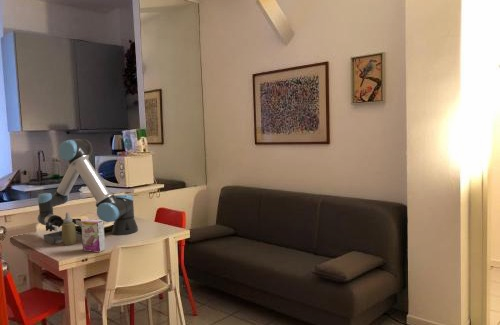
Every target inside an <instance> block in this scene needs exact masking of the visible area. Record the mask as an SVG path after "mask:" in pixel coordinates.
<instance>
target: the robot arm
mask: <svg viewBox="0 0 500 325" xmlns="http://www.w3.org/2000/svg"><path fill="white" fill-rule="evenodd" d="M92 154H93V145H92V143H91V142H90V141H89V140H87V139H84V138H76V139H68V140H63V142H61V143H60V145H59V149H58V155H59V157H60V158H61V160H64V161H65V162H68V164H69V166H68V168H67V169H66V172H65V174H64V176H63V177H62V179H61V181H60V183H59V185H58V187H57V189H56V191H55V193H53V194H52V193H51V192H44V193H40V194H38V197H37V198H38V200H37V202H38V211H39V214H38V215H37V218H36V219H37V222H39V224H41V225H43V226H45V231H47V232H48V231H49V232H53V231H54V232H59V231H60V229H59V228H60V227H62V224H63V223H64V222H63V220H64V219H65V218H62V217H61V216H59V215H56V214H54V208H55V207H57V206H61V205H64V204H66V203H68V202H69V200H70V195H69V194H70V192H71V191H72V188H73V187H74V185H75V183H76V181H77V179H78V178H79V176H80V178H81V179H82V180H83V183H84V185H86V187H87V189H88V191H89V192H90V193H91V195H92V196H93V198H94V200H95V201H96V202H95V206H96V215H97V217H98V218H99V220H103V222H105V223H111V222H114V223H113V227H112V234H113V235H116V236H117V235H121V236H123V235H131V234H134V233H136V232H138V231H139V226H138V225H137V222H136V219H135V209H134V208H135V206H134V198H133V195H132V194H131V195H130V194H115V195H114V194H113V193H110V192H109V190H108V188H107V187H106V185H105V184H104V182H103V181H102V179H101V178H100V176H99V174H98V172H97V171H96V169H95V168H94V166H93V165H92V163H91V161H90V159H91V156H92ZM81 221H82V219H81V218H72V222H74V224H75V226H79V227H81Z"/></svg>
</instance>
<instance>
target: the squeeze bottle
mask: <svg viewBox="0 0 500 325" xmlns="http://www.w3.org/2000/svg"><path fill="white" fill-rule="evenodd" d="M70 216H71V215H70V214H69V212H66V213H65V218H63V219H64V220H63V222H64V223H63V224H62V226H61V231H62V241H63V244H65V245H64V246H72V245H75V244H76V242H77V238H78V235H77V229H76V224H74V222H72V219H73V217H72V218H71V217H70ZM71 244H72V245H71Z"/></svg>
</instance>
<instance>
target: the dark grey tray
mask: <svg viewBox="0 0 500 325" xmlns="http://www.w3.org/2000/svg"><path fill="white" fill-rule="evenodd" d="M43 241H44V242H46V243H48V242H49V244H51V243H52V244H51V245H53V244H55V245H57V244H58V243H59V244H62V242H63V241H62V230H59V232H56V231H54V232H50V233H46V234H43Z"/></svg>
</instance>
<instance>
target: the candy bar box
mask: <svg viewBox="0 0 500 325" xmlns="http://www.w3.org/2000/svg"><path fill="white" fill-rule="evenodd" d="M80 227H81V228H80V229H81V238H82V239H81V240H82V241H81V242H82V251H83V250H91V251H102V250H104V251H105V249H106V240H105V239H106V237H105V225H104V221H103V220H101V219H84V220H81V226H80ZM102 252H103V251H102Z"/></svg>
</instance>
